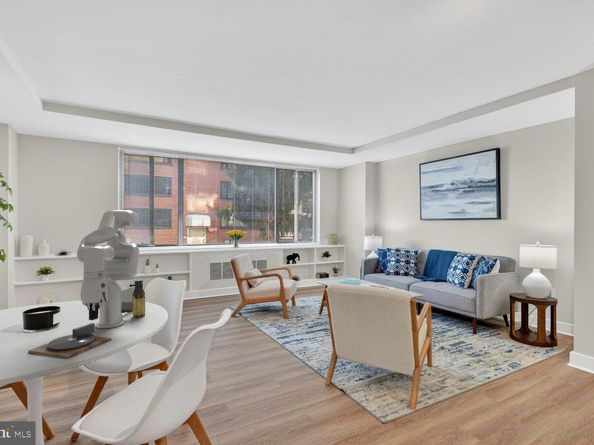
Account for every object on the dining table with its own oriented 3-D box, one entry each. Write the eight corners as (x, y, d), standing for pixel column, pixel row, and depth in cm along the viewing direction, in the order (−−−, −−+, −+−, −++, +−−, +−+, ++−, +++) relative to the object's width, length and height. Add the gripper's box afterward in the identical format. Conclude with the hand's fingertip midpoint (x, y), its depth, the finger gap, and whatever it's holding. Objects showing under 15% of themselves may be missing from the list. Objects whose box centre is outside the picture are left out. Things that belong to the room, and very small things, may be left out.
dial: (78, 333, 147) (78, 321, 147) (107, 336, 142) (107, 324, 142) (37, 348, 129) (37, 334, 129) (69, 352, 125) (69, 338, 125)
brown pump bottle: (135, 314, 181) (135, 278, 181) (147, 314, 181) (147, 278, 181) (130, 318, 174) (130, 281, 174) (142, 318, 174) (142, 280, 174)
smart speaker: (125, 308, 195) (125, 284, 195) (140, 308, 195) (140, 284, 195) (116, 312, 185) (116, 287, 185) (132, 312, 185) (132, 287, 185)
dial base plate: (75, 335, 147) (75, 332, 147) (111, 340, 142) (111, 337, 142) (28, 352, 128) (28, 349, 128) (68, 358, 123) (68, 355, 123)
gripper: (115, 275, 140) (115, 318, 140) (87, 274, 144) (87, 316, 144) (100, 277, 133) (100, 322, 132) (72, 276, 137) (71, 320, 136)
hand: (93, 319), depth 138 cm, fingers closed
